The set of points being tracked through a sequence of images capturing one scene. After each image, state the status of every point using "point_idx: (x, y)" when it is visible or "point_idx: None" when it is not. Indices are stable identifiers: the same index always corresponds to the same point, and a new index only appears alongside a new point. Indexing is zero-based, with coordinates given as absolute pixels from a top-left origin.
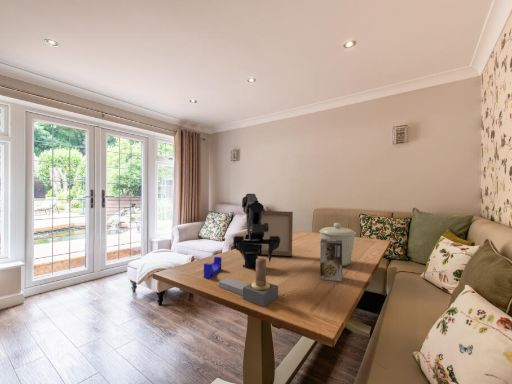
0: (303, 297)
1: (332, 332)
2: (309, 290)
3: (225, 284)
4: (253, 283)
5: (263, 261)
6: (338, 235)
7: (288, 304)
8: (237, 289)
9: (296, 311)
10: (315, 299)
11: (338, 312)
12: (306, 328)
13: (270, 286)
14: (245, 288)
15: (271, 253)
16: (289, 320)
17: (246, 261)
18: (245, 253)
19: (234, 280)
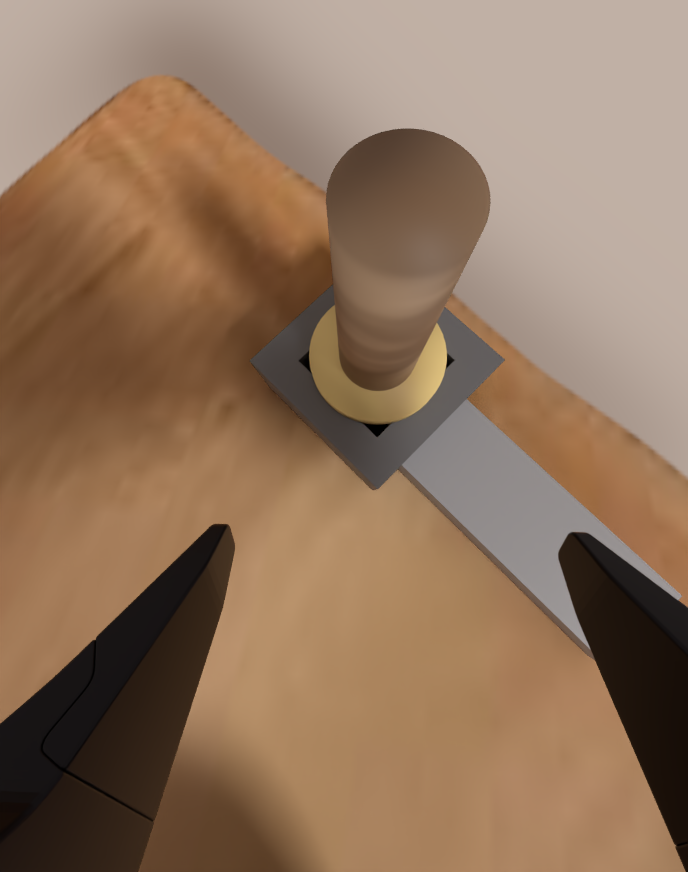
0: (124, 367)
1: (141, 88)
2: (44, 454)
3: (617, 538)
4: (431, 374)
5: (379, 139)
6: None
7: (235, 300)
8: (521, 455)
9: (219, 234)
10: (69, 338)
11: (30, 209)
12: (227, 117)
13: (304, 367)
14: (486, 346)
15: (130, 611)
16: (277, 171)
17: (564, 540)
18: (679, 635)
19: (554, 604)
